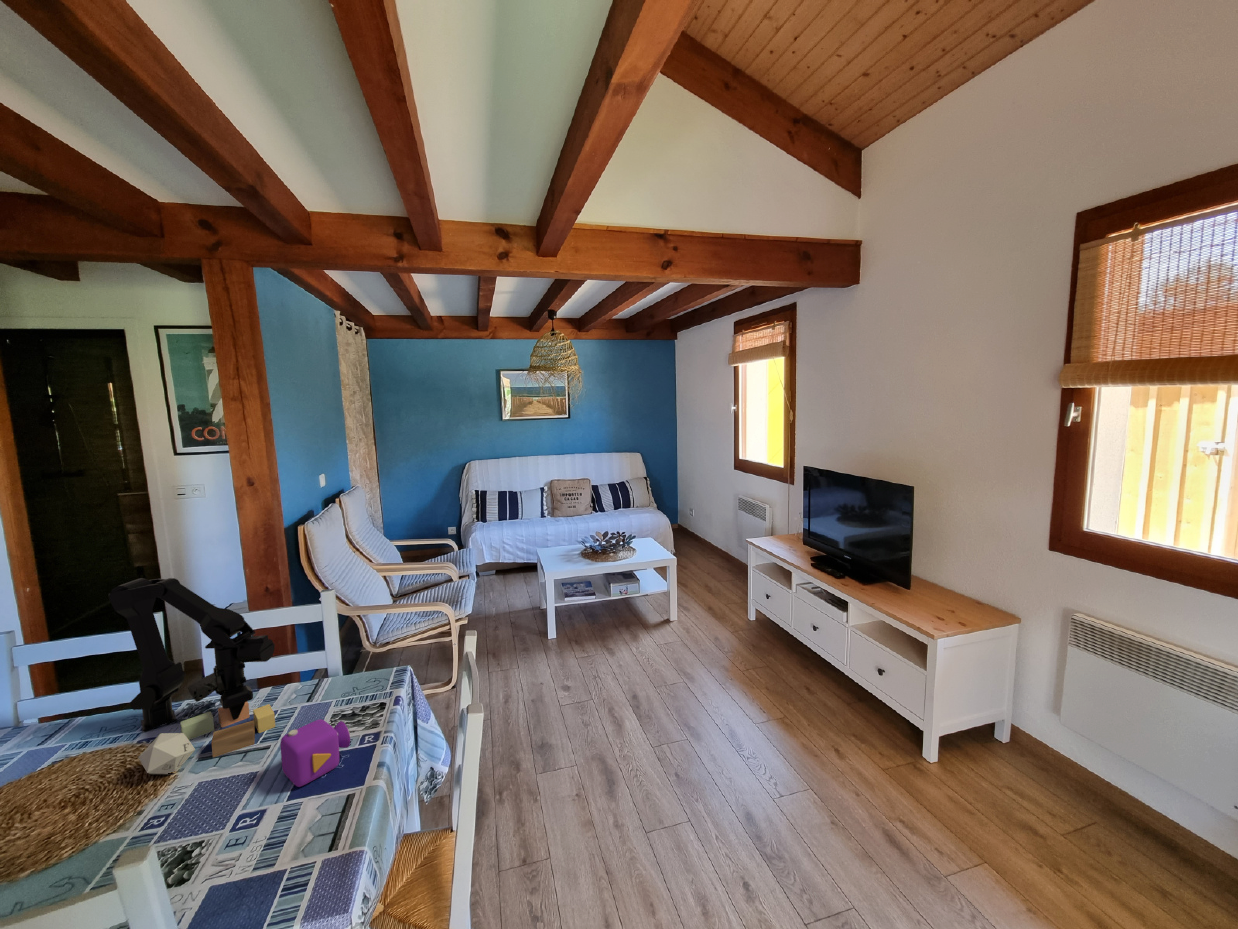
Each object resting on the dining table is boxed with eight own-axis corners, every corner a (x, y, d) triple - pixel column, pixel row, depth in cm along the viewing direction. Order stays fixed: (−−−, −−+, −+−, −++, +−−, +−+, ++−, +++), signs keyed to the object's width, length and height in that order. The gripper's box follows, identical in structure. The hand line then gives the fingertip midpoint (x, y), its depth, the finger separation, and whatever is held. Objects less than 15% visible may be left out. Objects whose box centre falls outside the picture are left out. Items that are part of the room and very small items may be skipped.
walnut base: (214, 747, 119) (213, 732, 119) (254, 734, 124) (253, 720, 124) (212, 758, 115) (211, 743, 115) (254, 745, 120) (253, 730, 120)
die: (148, 793, 105) (181, 749, 107) (119, 769, 106) (152, 727, 109) (181, 778, 113) (211, 738, 116) (154, 757, 114) (184, 717, 117)
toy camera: (360, 754, 116) (358, 716, 115) (303, 794, 104) (300, 751, 103) (331, 742, 121) (329, 704, 120) (274, 778, 108) (270, 737, 108)
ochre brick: (258, 734, 124) (257, 719, 124) (254, 723, 128) (252, 709, 128) (275, 727, 127) (274, 713, 126) (270, 717, 131) (269, 704, 130)
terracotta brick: (219, 722, 129) (217, 708, 128) (246, 712, 133) (245, 698, 133) (221, 728, 126) (220, 713, 126) (249, 717, 131) (248, 703, 130)
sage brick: (181, 736, 123) (180, 721, 123) (211, 725, 128) (210, 711, 127) (183, 742, 121) (182, 727, 120) (214, 731, 125) (213, 716, 125)
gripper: (184, 661, 128) (190, 715, 130) (194, 687, 116) (200, 747, 117) (236, 646, 137) (241, 697, 138) (251, 669, 124) (255, 725, 126)
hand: (234, 716), depth 130 cm, fingers closed on terracotta brick, 4 cm apart
